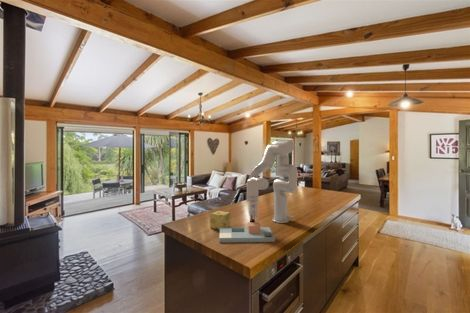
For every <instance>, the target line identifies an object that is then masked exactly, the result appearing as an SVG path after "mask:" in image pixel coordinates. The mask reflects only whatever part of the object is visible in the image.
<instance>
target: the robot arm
mask: <svg viewBox="0 0 470 313" xmlns="http://www.w3.org/2000/svg"><path fill="white" fill-rule="evenodd" d="M294 149H295V143H294V141H292V140H286V139H285V140H281V139H280V140H275V141H272V143H271V144H268V145H267V146H266V147H265V149H264V152H263V155H262V158H261V161H260V162H259V164H257V165H256V166H255V167H254V168H253V169H252V170H251V172H250V174H249V176H248V179H247V180H246V201H247V202H248V204H247V205H248V208H247V210H248V216H249V222H256V218H258V216H259V215H258V202H259V190H266V189H268V187H269V186H270V183H269V180H268V179H267V178H264V177H259V175H260V174H261V173H263V172H265V171H268V170H270V169H271V168H273V165H274V163H275V160H276V168H275V169H276V170H275V172H276V175H277V177H281V178H276V179H274V180H273V183H272V188H273V194H274V195H273V196H274V197H273V217H272V218H271V222H274V223H279V224H286V223H289V222H290V219H291V220H292V219H294V218H295V217H294V215H288V196H287V193H291V194H292V193H295V192H296V191H297V185H298V175H299V174H298V168H297V165H295V164H290V163H289V154H291V153H292V152H293V151H294Z"/></svg>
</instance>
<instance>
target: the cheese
mask: <svg viewBox="0 0 470 313" xmlns="http://www.w3.org/2000/svg"><path fill="white" fill-rule="evenodd" d="M231 218H232V217H231V211H223V210H222V211H221V210H217V211H214V212H210V216H209V224H210V225H209V226H210V228H211V229H215V230H219V231H220V228H231Z"/></svg>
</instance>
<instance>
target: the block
mask: <svg viewBox="0 0 470 313" xmlns="http://www.w3.org/2000/svg"><path fill="white" fill-rule="evenodd" d="M247 227H248V232H249V233H260V227H261V224H260V223H259V221H258V222H257V221H255V222H250V221H248V222H247Z"/></svg>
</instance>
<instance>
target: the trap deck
mask: <svg viewBox="0 0 470 313" xmlns="http://www.w3.org/2000/svg"><path fill="white" fill-rule="evenodd" d="M218 239H219V241H218V242H219V243H271V242H272V243H273V242H276V237H275V235H274V234H273V231H272V229H271V228H270V227H269V226H260V233H249V232H248V226H247V227H228V228H220V230H219V237H218Z"/></svg>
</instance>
